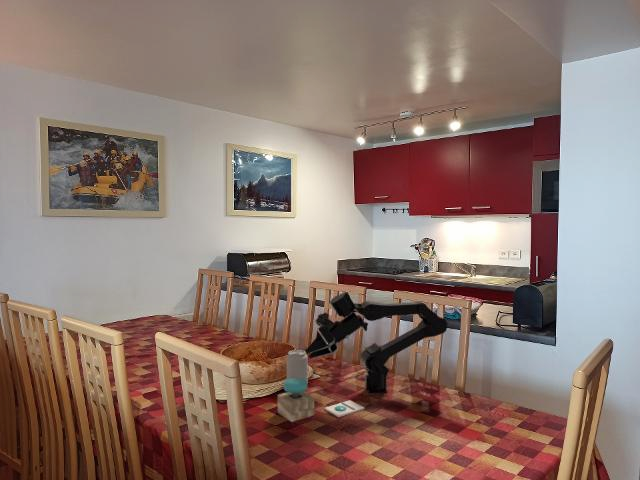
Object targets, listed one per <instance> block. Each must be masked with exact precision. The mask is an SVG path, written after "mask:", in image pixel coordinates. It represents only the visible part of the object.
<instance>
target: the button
mask: <svg viewBox="0 0 640 480" xmlns="http://www.w3.org/2000/svg"><path fill="white" fill-rule="evenodd" d="M283 390H284V391H285V393H287V392H290V393H292V398H293V399H296V398H300V392H306V391H307V390H308V384H307V380H305V379H302V378H291V379H287V378H286V379H285V380H284V382H283Z"/></svg>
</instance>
